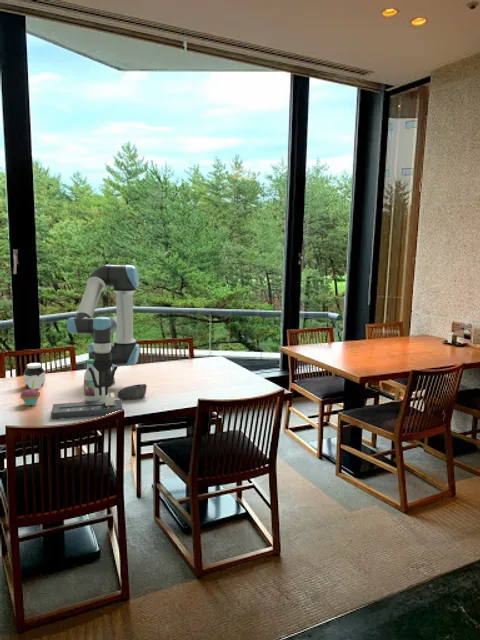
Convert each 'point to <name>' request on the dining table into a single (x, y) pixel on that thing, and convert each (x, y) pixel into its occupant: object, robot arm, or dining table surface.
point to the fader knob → (109, 399)
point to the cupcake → (30, 396)
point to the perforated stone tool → (132, 392)
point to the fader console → (83, 409)
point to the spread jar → (34, 375)
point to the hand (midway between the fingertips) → (103, 401)
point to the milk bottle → (91, 384)
